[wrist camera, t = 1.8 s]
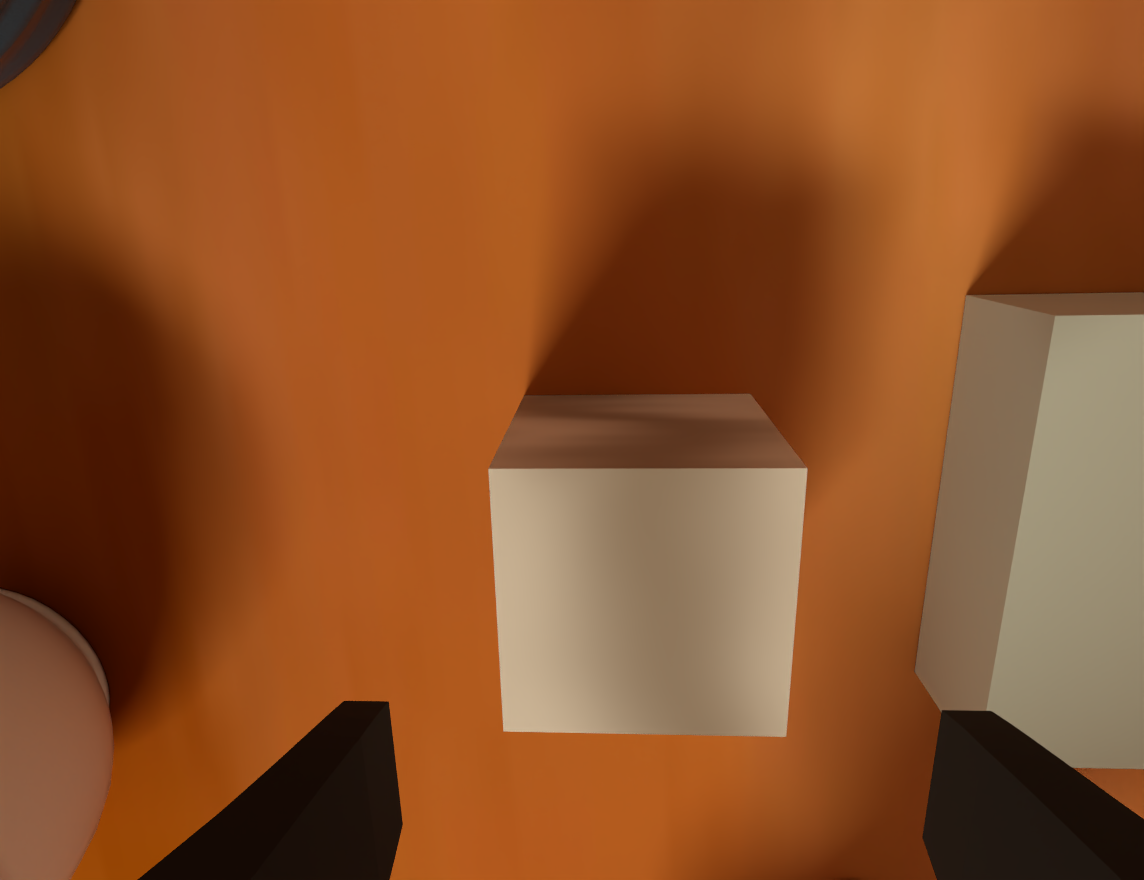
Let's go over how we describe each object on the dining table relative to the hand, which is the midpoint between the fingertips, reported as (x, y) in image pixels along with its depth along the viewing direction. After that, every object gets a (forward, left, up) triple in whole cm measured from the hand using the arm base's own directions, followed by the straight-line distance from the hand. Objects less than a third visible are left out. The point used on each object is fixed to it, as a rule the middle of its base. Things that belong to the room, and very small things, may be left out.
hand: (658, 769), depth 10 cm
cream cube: (0, 0, -10) cm, 10 cm away
